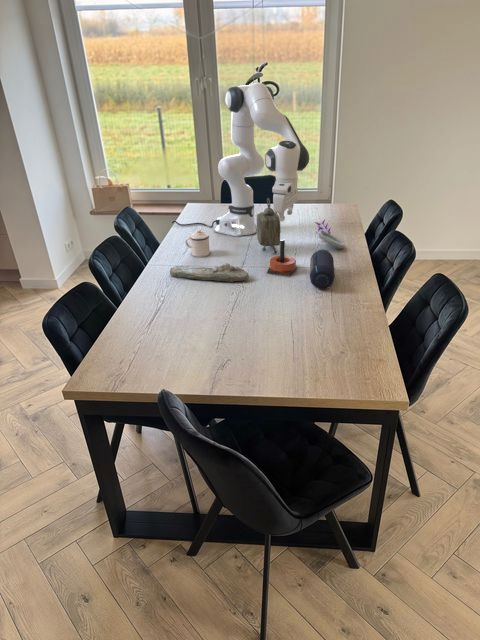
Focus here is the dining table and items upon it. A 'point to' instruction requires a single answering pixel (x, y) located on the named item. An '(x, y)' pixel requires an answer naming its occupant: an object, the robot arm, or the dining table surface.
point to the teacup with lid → (199, 244)
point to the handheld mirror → (328, 236)
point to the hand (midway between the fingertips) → (285, 217)
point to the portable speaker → (322, 269)
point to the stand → (281, 261)
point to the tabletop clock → (268, 228)
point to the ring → (282, 264)
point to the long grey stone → (211, 273)
